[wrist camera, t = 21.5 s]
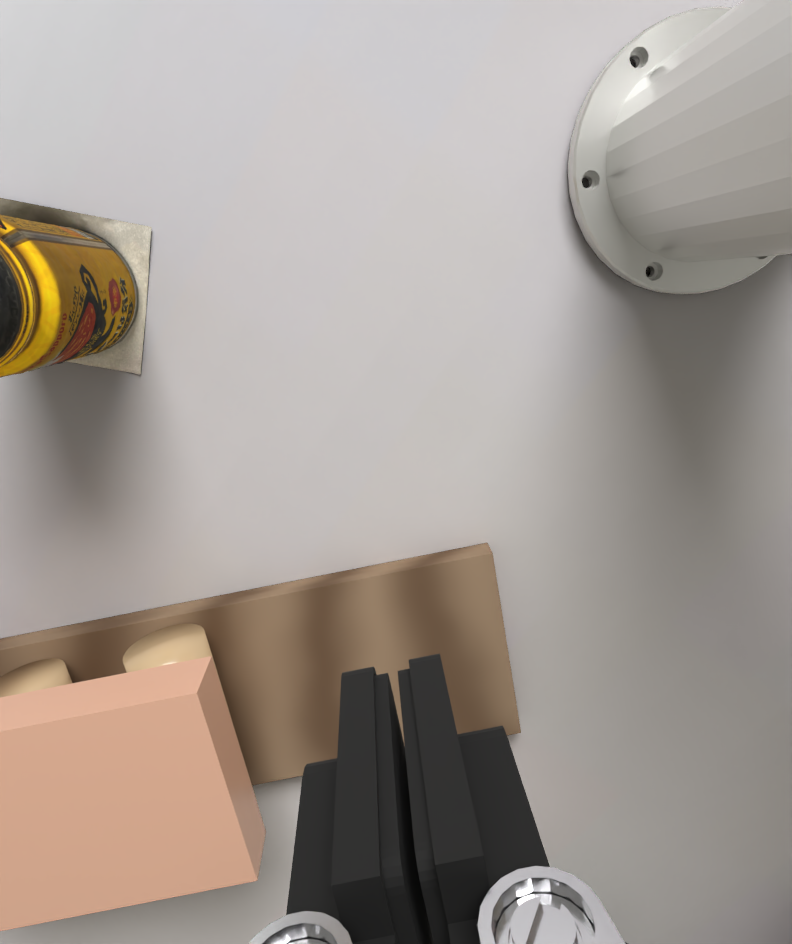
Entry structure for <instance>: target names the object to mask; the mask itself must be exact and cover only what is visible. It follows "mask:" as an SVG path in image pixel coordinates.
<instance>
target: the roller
mask: <svg viewBox="0 0 792 944" xmlns="http://www.w3.org/2000/svg"><path fill="white" fill-rule="evenodd" d="M67 684H72V681H71V678H70V675H69V673H68V670H67V667H66V665H65V663H64V661H63V660H61V659H56V658H49V659H43V660H38V661H34V662H31V663H28V664H25V665H23V666H20V667H18V668H16V669H14V670H12V671H10V672H8V673H6V674H5V675H3V676H1V677H0V698H1V697H6V696H11V695H16V694H21V693H26V692H31V691H36V690H41V689H47V688H52V687H57V686H62V685H67Z"/></svg>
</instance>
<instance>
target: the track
mask: <svg viewBox="0 0 792 944" xmlns="http://www.w3.org/2000/svg"><path fill="white" fill-rule="evenodd" d="M186 623H190V624H197V625H200V626H201V627H203V629H204V630H205V634H206V637H207V640H208V643H209V647H210V650H211V653H212V656H213V660H214V663H215V666H216V669H217V673H218V676H219V679H220V682H221V686H222V689H223V692H224V695H225V698H226V702H227V705H228V708H229V711H230V715H231V718H232V721H233V724H234V728H235V731H236V734H237V737H238V741H239V744H240V747H241V750H242V754H243V757H244V760H245V763H246V767H247V770H248V773H249V776H250V779H251V783H252V785H257V784H262V783H267V782H272V781H277V780H282V779H288V778H293V777H298V776H303V772H304V767H305V766H306V764H309V763H314V762H319V761H325V760H330V759H335V758H337V753H338V733H339V712H340V692H341V675H342V673H343V672H348V671H353V670H358V669H363V668H368V667H374V668H375V671H376V674H377V675H379V674H384V673H388V675H389V679H390V683H391V687H392V692H393V696H394V701H395V705H396V710H397V714H398V719H399V723H400V728H401V732H402V737H403V741H404V733H403V723H402V713H401V702H400V692H399V682H398V671H399V670H404V669H409V659H414V658H419V657H424V656H429V655H435V654H440V656H441V661H442V666H443V670H444V675H445V679H446V684H447V689H448V693H449V698H450V703H451V707H452V712H453V716H454V721H455V726H456V730H457V734H462V733H467V732H472V731H477V730H482V729H487V728H492V727H497V726H503V727H504V729H505V732H506V735H511V734H517V733H521V730H520V724H519V717H518V711H517V705H516V698H515V692H514V686H513V679H512V673H511V667H510V661H509V654H508V648H507V642H506V635H505V629H504V623H503V616H502V610H501V604H500V598H499V591H498V585H497V579H496V572H495V566H494V560H493V553H492V551H491V549H490V547H489V545H488V543H484V544H479V545H474V546H469V547H464V548H459V549H453V550H448V551H443V552H438V553H433V554H428V555H423V556H418V557H413V558H408V559H403V560H398V561H393V562H387V563H382V564H377V565H372V566H367V567H362V568H357V569H352V570H347V571H342V572H337V573H332V574H327V575H321V576H316V577H311V578H306V579H301V580H296V581H291V582H286V583H281V584H276V585H271V586H266V587H261V588H255V589H250V590H245V591H240V592H235V593H230V594H225V595H220V596H215V597H210V598H205V599H200V600H195V601H189V602H184V603H179V604H174V605H169V606H164V607H159V608H154V609H149V610H144V611H139V612H134V613H129V614H123V615H118V616H113V617H108V618H103V619H98V620H93V621H88V622H83V623H78V624H73V625H68V626H62V627H57V628H52V629H47V630H42V631H37V632H32V633H27V634H22V635H17V636H12V637H7V638H2V639H0V677H1V676H3V675H5V674H6V673H8V672H10V671H12V670H14V669H16V668H18V667H20V666H23V665H25V664H28V663H31V662H34V661H38V660H43V659H49V658H56V659H61V660H63V661H64V663H65V665H66V667H67V670H68V673H69V675H70V678H71V681H72V683H77V682H82V681H87V680H92V679H97V678H102V677H107V676H113V675H118V674H123V673H127V672H126V669H125V667H124V664H123V656H124V654H125V652H126V651H127V650H128V648H129V647H130V646H132V645H133V644H134V643H135V642H136V641H138V640H139V639H141V638H143V637H144V636H146V635H148V634H150V633H152V632H154V631H157V630H159V629H162V628H165V627H168V626H172V625H177V624H186ZM404 746H405V744H404Z"/></svg>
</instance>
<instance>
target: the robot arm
mask: <svg viewBox="0 0 792 944" xmlns="http://www.w3.org/2000/svg"><path fill="white" fill-rule="evenodd" d="M630 58H631V59H634V60H635V62H636V67H635V68H634V67H633V66H632V65H631V63H630V60H629V59H630ZM583 178H587V179H588V181H589V186H588V187H587V188H584V187H583V185H582V179H583ZM568 179H569V194H570V198H571V202H572V206H573V210H574V214H575V218H576V220H577V222H578V224H579V227H580V229H581V231H582V233H583V236H584V238H585V240H586V241H587V243H588V244H589V245H590V247H591V248H592V249H593V251H594V252H595V254H596V255H597V256H598V258H599V259H600V260H601V261H602V262H603V263H604V264H606V265H607V266H608V267H609V268H610V269H611V270H612V271H613V272H614V273H615V274H617V275H619V276H620V277H622V278H624V279H626V280H627V281H629V282H631V283H632V284H634V285H636V286H640V287H643V288H646V289H649V290H652V291H655V292H662V293H672V294H698V293H704V292H709V291H714V290H719V289H722V288H724V287H727V286H729V285H732V284H734V283H737V282H739V281H742V280H744V279H745V278H747V277H749V276H750V275H752V274H753V273H755V272H757V271H758V270H760V269H761V268H763V267H764V266H766V265H767V264H768V263H769V262H770V261H771V260H772V259H774V258H775V257H776V256H777V255H784V254H792V0H742V1H741V2H740V3H738V4H737V5H736V6H734V7H733V8H729V7H722V6H719V7H708V8H696V9H692V10H689V11H686V12H682V13H679V14H676V15H673V16H669V17H668V18H666V19H664V20H662V21H660V22H658V23H657V24H655V25H653V26H651V27H649V28H648V29H646V30H644V31H643V32H642V33H641V34H639V35H638V36H637V37H636V38H634V39H633V40H632V41H631V42H630V43H628V44H627V45H626V46H625V47H624V48H623V49H622V50H621V51H620V52H619V53H618V54H617V55H616V56H615V57H614V58H613V59H612V60H611V61H610V62H609V63H608V64H607V65H606V66H605V68H604V69H603V71H602V72H601V74H600V75H599V76H598V78H597V79H596V81H595V82H594V83H593V85H592V86H591V88H590V90H589V92H588V94H587V96H586V98H585V100H584V102H583V104H582V107H581V109H580V111H579V113H578V116H577V120H576V123H575V127H574V130H573V134H572V137H571V142H570V151H569V160H568ZM647 267H649V268H650V269H651V274H650V275H649V276H648V277H647V276H646V268H647ZM398 682H399V692H400V702H401V713H402V723H403V733H404V741H403V737H402V732H401V728H400V723H399V719H398V714H397V710H396V705H395V701H394V696H393V692H392V687H391V683H390V679H389V675H388V673H384V674H379V675H377V674H376V671H375V668H374V667H368V668H363V669H358V670H353V671H348V672H343V673H342V675H341V692H340V712H339V733H338V753H337V758H335V759H330V760H325V761H319V762H314V763H309V764H306V766H305V767H304V772H303V778H302V787H301V795H300V804H299V812H298V821H297V829H296V838H295V846H294V855H293V863H292V871H291V880H290V888H289V897H288V905H287V914H286V916H284V917H282V918H280V919H278V920H276V921H274V922H272V923H270V924H269V925H267V926H266V927H265V928H264V929H263V930H261V931H260V932H259V933H258V934H257V935H255V936H254V937H253V938H252V940H251V941H250V942H249V943H248V944H627V943H625V942H624V940H623V939H622V937H621V935H620V933H619V932H618V930H617V928H616V926H615V925H614V923H613V921H612V919H611V918H610V916H609V914H608V912H607V911H606V909H605V907H604V905H603V904H602V902H601V901H600V899H599V898H598V897H597V895H596V894H595V893H594V892H593V890H592V889H591V888H590V887H589V886H588V885H587V884H586V883H584V882H583V881H581V880H580V879H579V878H577V877H576V876H575V875H573V874H571V873H568V872H565V871H563V870H560V869H557V868H554V867H550V866H549V863H548V860H547V857H546V854H545V851H544V848H543V845H542V842H541V839H540V836H539V833H538V830H537V827H536V824H535V820H534V817H533V814H532V811H531V808H530V805H529V802H528V799H527V796H526V793H525V790H524V787H523V784H522V781H521V778H520V775H519V771H518V768H517V765H516V762H515V759H514V756H513V753H512V750H511V747H510V744H509V741H508V738H507V735H506V732H505V729H504V727H503V726H497V727H492V728H487V729H482V730H477V731H472V732H467V733H462V734H457V730H456V726H455V721H454V716H453V712H452V707H451V703H450V698H449V693H448V689H447V684H446V679H445V675H444V670H443V666H442V661H441V656H440V654H435V655H429V656H424V657H419V658H414V659H409V669H404V670H399V671H398ZM404 744H405V746H404Z"/></svg>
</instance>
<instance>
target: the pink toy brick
mask: <svg viewBox="0 0 792 944" xmlns="http://www.w3.org/2000/svg"><path fill="white" fill-rule="evenodd" d="M123 664H124V667H125V669H126V672H127V673H123V674H118V675H113V676H107V677H102V678H97V679H92V680H87V681H82V682H77V683H72V684H67V685H62V686H57V687H52V688H47V689H41V690H36V691H31V692H26V693H21V694H16V695H11V696H6V697H1V698H0V931H4V930H9V929H14V928H19V927H24V926H29V925H35V924H40V923H45V922H50V921H55V920H60V919H65V918H70V917H75V916H80V915H85V914H91V913H96V912H101V911H106V910H111V909H116V908H121V907H126V906H131V905H136V904H141V903H147V902H152V901H157V900H162V899H167V898H172V897H177V896H182V895H187V894H192V893H197V892H203V891H208V890H213V889H218V888H223V887H228V886H233V885H238V884H243V883H248V882H253V881H257V880H258V875H259V869H260V863H261V857H262V851H263V846H264V840H265V834H266V830H265V827H264V824H263V820H262V817H261V814H260V811H259V807H258V804H257V801H256V796H255V792H254V789H253V786H252V783H251V779H250V776H249V773H248V770H247V767H246V763H245V760H244V757H243V754H242V750H241V747H240V744H239V741H238V737H237V734H236V731H235V728H234V724H233V721H232V718H231V715H230V711H229V708H228V705H227V702H226V698H225V695H224V692H223V689H222V686H221V682H220V679H219V676H218V673H217V669H216V666H215V663H214V660H213V656H212V653H211V650H210V647H209V643H208V640H207V637H206V634H205V630H204V629H203V627H201V626H200V625H197V624H190V623H186V624H177V625H172V626H168V627H165V628H162V629H159V630H157V631H154V632H152V633H150V634H148V635H146V636H144V637H143V638H141V639H139V640H138V641H136V642H135V643H134V644H133V645H132V646H130V647H129V648H128V650H127V651H126V652H125V654H124V656H123Z"/></svg>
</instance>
